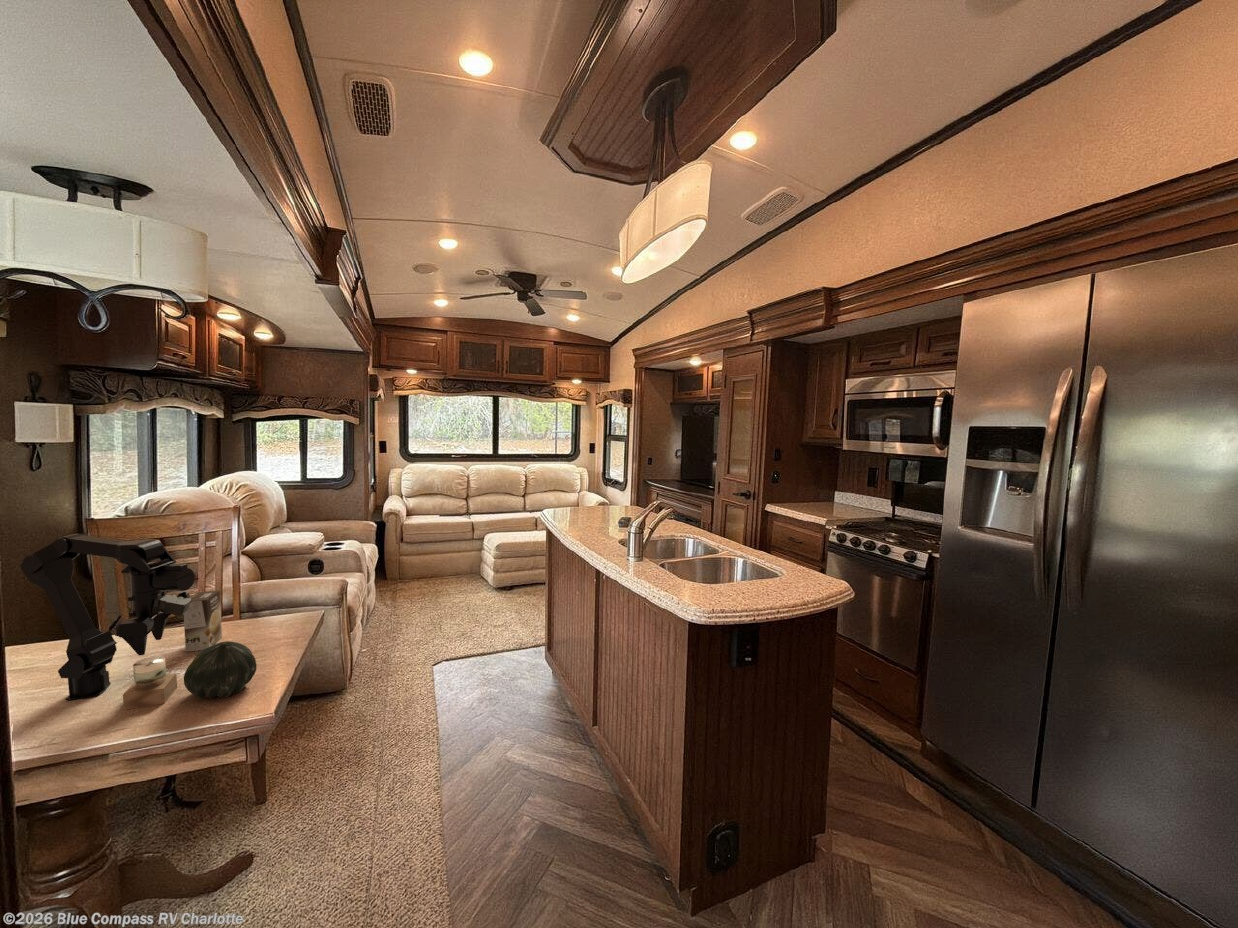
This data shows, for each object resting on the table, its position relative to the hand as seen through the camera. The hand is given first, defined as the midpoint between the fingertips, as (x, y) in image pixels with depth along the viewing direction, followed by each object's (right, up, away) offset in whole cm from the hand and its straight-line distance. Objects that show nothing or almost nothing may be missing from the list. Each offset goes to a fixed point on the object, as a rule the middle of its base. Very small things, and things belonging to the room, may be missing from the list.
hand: (150, 647), depth 132 cm
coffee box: (-10, -10, +29) cm, 32 cm away
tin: (+1, -9, -1) cm, 9 cm away
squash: (+16, -13, +4) cm, 21 cm away
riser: (+1, -13, -1) cm, 13 cm away
